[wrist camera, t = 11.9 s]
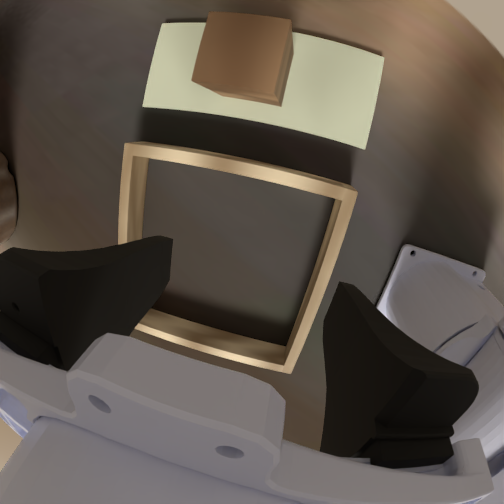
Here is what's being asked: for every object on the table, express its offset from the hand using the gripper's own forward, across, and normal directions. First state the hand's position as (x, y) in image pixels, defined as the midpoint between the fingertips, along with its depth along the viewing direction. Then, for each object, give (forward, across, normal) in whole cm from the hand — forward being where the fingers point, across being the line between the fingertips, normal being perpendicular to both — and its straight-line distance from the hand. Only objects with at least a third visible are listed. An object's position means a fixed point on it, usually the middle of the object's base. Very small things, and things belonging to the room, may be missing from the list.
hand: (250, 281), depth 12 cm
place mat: (+9, +3, -10) cm, 14 cm away
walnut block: (+9, +3, -10) cm, 14 cm away
